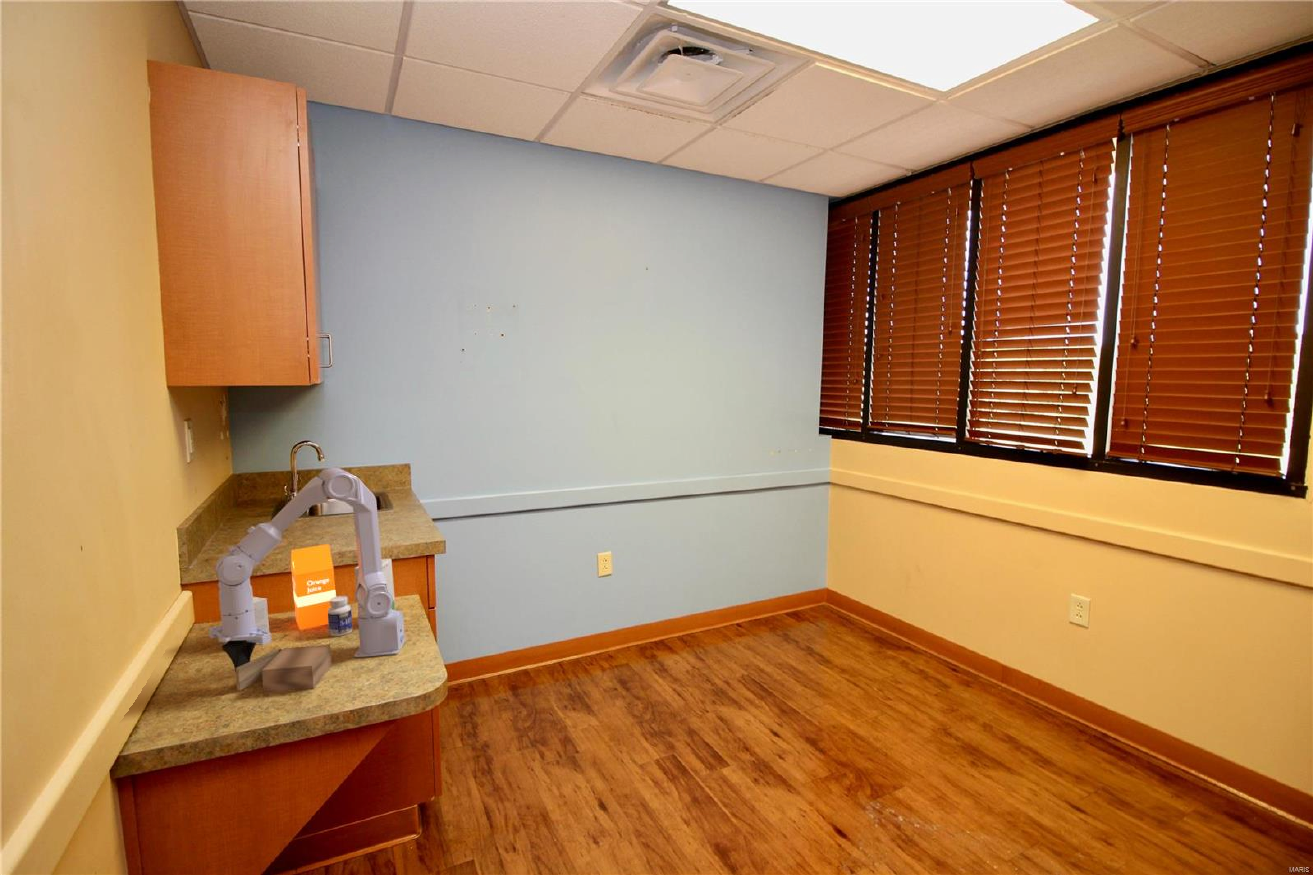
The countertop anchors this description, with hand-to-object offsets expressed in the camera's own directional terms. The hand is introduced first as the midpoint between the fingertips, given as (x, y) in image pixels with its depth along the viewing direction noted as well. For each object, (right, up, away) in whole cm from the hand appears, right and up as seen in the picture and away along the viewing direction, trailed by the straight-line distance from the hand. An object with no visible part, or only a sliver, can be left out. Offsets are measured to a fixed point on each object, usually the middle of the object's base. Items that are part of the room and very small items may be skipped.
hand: (243, 673), depth 130 cm
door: (+2, -2, +3) cm, 4 cm away
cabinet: (+10, -2, +3) cm, 11 cm away
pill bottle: (+7, 0, +26) cm, 27 cm away
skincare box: (+13, +1, +33) cm, 36 cm away
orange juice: (-3, +1, +34) cm, 34 cm away
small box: (-13, -1, +22) cm, 26 cm away
